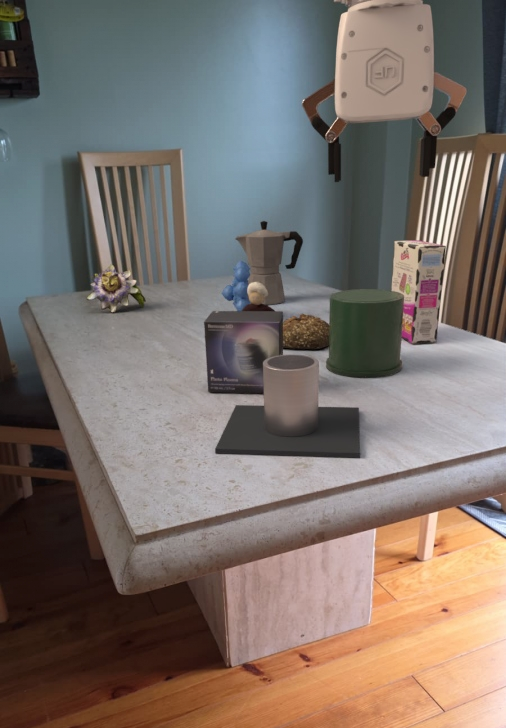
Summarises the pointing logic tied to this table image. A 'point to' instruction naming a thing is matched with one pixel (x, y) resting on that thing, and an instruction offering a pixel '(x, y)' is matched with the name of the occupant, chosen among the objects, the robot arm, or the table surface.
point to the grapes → (238, 287)
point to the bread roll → (305, 332)
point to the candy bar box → (419, 287)
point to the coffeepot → (269, 259)
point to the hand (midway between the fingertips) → (380, 179)
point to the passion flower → (114, 289)
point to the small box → (241, 348)
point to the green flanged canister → (365, 333)
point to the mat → (328, 440)
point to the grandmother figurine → (257, 298)
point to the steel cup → (291, 395)
